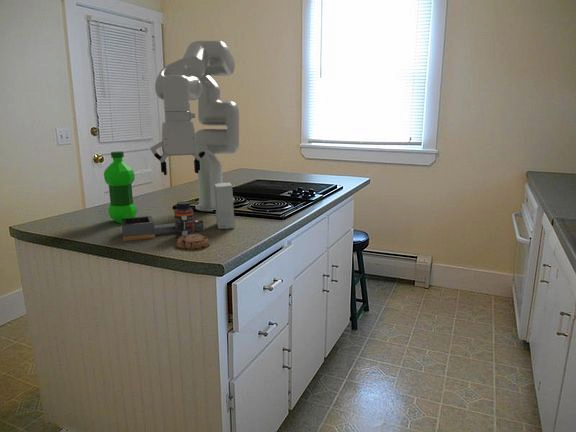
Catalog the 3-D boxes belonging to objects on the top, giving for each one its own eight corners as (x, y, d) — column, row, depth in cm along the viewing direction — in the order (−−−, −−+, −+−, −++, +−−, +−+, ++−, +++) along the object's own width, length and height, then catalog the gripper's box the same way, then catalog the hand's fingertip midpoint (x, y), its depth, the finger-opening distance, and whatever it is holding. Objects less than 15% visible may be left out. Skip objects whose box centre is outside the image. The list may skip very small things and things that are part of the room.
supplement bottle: (190, 239, 145) (188, 204, 142) (172, 238, 146) (170, 204, 144) (197, 234, 151) (195, 200, 148) (180, 233, 152) (178, 200, 149)
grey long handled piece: (200, 225, 162) (199, 211, 160) (205, 232, 153) (204, 218, 152) (122, 232, 153) (121, 218, 152) (123, 241, 144) (121, 225, 143)
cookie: (199, 252, 134) (199, 242, 133) (169, 248, 138) (168, 238, 137) (217, 243, 143) (216, 233, 142) (187, 239, 147) (187, 230, 146)
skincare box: (235, 228, 158) (233, 185, 154) (217, 229, 156) (215, 186, 153) (232, 222, 166) (230, 181, 162) (215, 223, 164) (213, 182, 161)
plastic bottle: (124, 216, 175) (118, 149, 168) (144, 219, 169) (138, 151, 163) (102, 222, 166) (95, 152, 160) (122, 226, 161) (115, 154, 155)
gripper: (204, 116, 146) (206, 170, 150) (147, 117, 140) (151, 173, 144) (208, 117, 139) (211, 173, 143) (149, 118, 133) (153, 177, 137)
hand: (181, 173), depth 143 cm, fingers open, 9 cm apart
